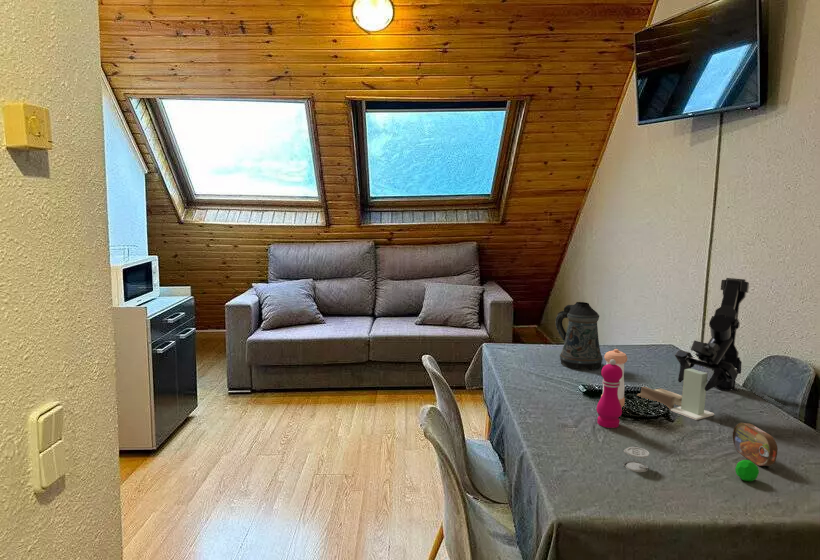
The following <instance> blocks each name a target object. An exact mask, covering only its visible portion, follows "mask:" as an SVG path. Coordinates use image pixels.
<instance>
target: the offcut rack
mask: <svg viewBox="0 0 820 560" xmlns="http://www.w3.org/2000/svg"><path fill="white" fill-rule="evenodd" d="M637 396H639V397H641V398H645V399H649V400H653V401H657V402H660V403H663V404H664V405H666V406H667V407H668V408H669V409H668V410H670V411H671V409H673V408H675V407H674V406H675V405H676V406H677V407H680V406H681V402H682V394H678V393H676V392H673V391H670V390H666V389H664V388H661V387H660V388H656V389H653V388H650V387H647V386H641V389H640V393H637V394H636V397H637Z"/></svg>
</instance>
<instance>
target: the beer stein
mask: <svg viewBox="0 0 820 560" xmlns="http://www.w3.org/2000/svg"><path fill="white" fill-rule="evenodd" d="M564 319H568V324H567V328H566V330H565V327H564V326H563V320H564ZM599 319H600V315H599V313H598V312H597V311H596V310H595V309H594V308H593V307H592V306H591V305H590V303H589V302H584V301H576V302H575V303H574V304H568V305H565V307H564V308H563V310H561V311H560V312H558V313H557V315H556V318H555V327H556V330H557V333H558V335H559V336H560V338H561V339H562V341H563V342H564V344H563V346H562V350H561V352H560V354H559V360H560V364H561V365H562V366H563V367H565V368H567V369H572V370H576V371H595V370H599V369H601V368H602V363H603V358H604V356H602V352H601V349H600V341H599V330H598V321H599Z"/></svg>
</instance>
